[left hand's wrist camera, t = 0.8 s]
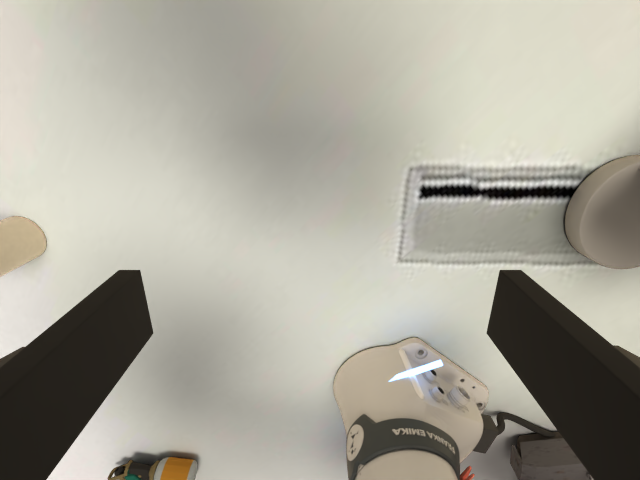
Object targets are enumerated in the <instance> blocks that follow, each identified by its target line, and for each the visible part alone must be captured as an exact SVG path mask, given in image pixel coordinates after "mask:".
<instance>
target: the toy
mask: <svg viewBox="0 0 640 480" xmlns="http://www.w3.org/2000/svg"><path fill="white" fill-rule="evenodd" d="M552 433H554V434H555V437H546V436H543V435H541V434H529V435H520V436H519V437H518V441H517V449H516V447H515V445H512V448H511V459H510V464H511V466H512V468H513V470H514V472H515V474H516V475H517V477H518V479H519V480H594V479H593V478H592V476H591V475H590V474H589V472H588V471H587V470H586V468H585V467H584V466H583V464H582V463H581V461H580V460H579V459H578V457H577V456H576V455H575V453H574V452H573V451H572V449H571V448H570V446H569V445H568V444H567V442H566V441H565V440H564V438H563V437H562V435H561V434H560V433H559V432H552Z"/></svg>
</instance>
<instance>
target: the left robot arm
mask: <svg viewBox="0 0 640 480" xmlns="http://www.w3.org/2000/svg"><path fill="white" fill-rule="evenodd" d="M152 334H153V329H152V325H151V320H150V315H149V310H148V305H147V301H146V296H145V291H144V286H143V282H142V277H141V272H140V270H119V271H117V272H116V273H115V274H114V275H113V276H111V277H110V278H109V279H108V280H106V281H105V282H104V283H103V284H102V285H100V286H99V287H98V288H97V289H96V290H94V291H93V292H92V293H91V294H89V295H88V296H87V297H86V298H85V299H83V300H82V301H81V302H80V303H78V304H77V305H76V306H75V307H74V308H72V309H71V310H70V311H69V312H67V313H66V314H65V315H64V316H63V317H61V318H60V319H59V320H58V321H57V322H55V323H54V324H53V325H52V326H50V327H49V328H48V329H47V330H46V331H44V332H43V333H42V334H41V335H39V336H38V337H37V338H36V339H35V340H33V341H32V342H31V343H30V344H29V345H27V346H26V347H22V348H20V349H18V350H16V351H14V352H12V353H10V354H9V355H7V356H5V357H3V358H1V359H0V480H46V479H47V478H48V476H49V475H50V474H51V472H52V471H53V470H54V468H55V467H56V466H57V464H58V463H59V461H60V460H61V459H62V457H63V456H64V455H65V453H66V452H67V451H68V449H69V448H70V446H71V445H72V444H73V442H74V441H75V440H76V438H77V437H78V435H79V434H80V433H81V431H82V430H83V429H84V427H85V426H86V425H87V423H88V422H89V420H90V419H91V418H92V416H93V415H94V414H95V412H96V411H97V409H98V408H99V407H100V405H101V404H102V403H103V401H104V400H105V399H106V397H107V396H108V394H109V393H110V392H111V390H112V389H113V388H114V386H115V385H116V384H117V382H118V381H119V379H120V378H121V377H122V375H123V374H124V373H125V371H126V370H127V368H128V367H129V366H130V364H131V363H132V362H133V360H134V359H135V358H136V356H137V355H138V353H139V352H140V351H141V349H142V348H143V347H144V345H145V344H146V342H147V341H148V340H149V338H150V337H151V336H152ZM487 334H488V336H489V337H490V338H491V340H492V341H493V342H494V344H495V345H496V347H497V348H498V349H499V351H500V352H501V353H502V355H503V356H504V358H505V359H506V360H507V362H508V363H509V364H510V366H511V367H512V368H513V370H514V371H515V373H516V374H517V375H518V377H519V378H520V379H521V381H522V382H523V384H524V385H525V386H526V388H527V389H528V390H529V392H530V393H531V394H532V396H533V397H534V399H535V400H536V401H537V403H538V404H539V405H540V407H541V408H542V409H543V411H544V412H545V414H546V415H547V416H548V418H549V419H550V420H551V422H552V423H553V425H554V426H555V427H556V429H557V430H558V431H559V433H560V434H561V435H562V437H563V438H564V440H565V441H566V442H567V444H568V445H569V446H570V448H571V449H572V451H573V452H574V453H575V455H576V456H577V457H578V459H579V460H580V461H581V463H582V464H583V466H584V467H585V468H586V470H587V471H588V472H589V474H590V475H591V476H592V478H593V479H594V480H640V357H638V356H636V355H634V354H632V353H630V352H629V351H627V350H625V349H623V348H621V347H619V346H613V345H611V344H610V343H609V342H608V341H607V340H605V339H604V338H603V337H602V336H601V335H599V334H598V333H597V332H596V331H594V330H593V329H592V328H591V327H590V326H588V325H587V324H586V323H585V322H583V321H582V320H581V319H580V318H579V317H577V316H576V315H575V314H574V313H573V312H571V311H570V310H569V309H568V308H566V307H565V306H564V305H563V304H562V303H560V302H559V301H558V300H557V299H555V298H554V297H553V296H552V295H551V294H549V293H548V292H547V291H546V290H544V289H543V288H542V287H541V286H540V285H538V284H537V283H536V282H535V281H534V280H532V279H531V278H530V277H529V276H527V275H526V274H525V273H524V272H523V271H521V270H500V272H499V277H498V282H497V286H496V291H495V296H494V301H493V305H492V310H491V315H490V320H489V325H488V329H487Z"/></svg>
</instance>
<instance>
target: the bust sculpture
mask: <svg viewBox="0 0 640 480" xmlns="http://www.w3.org/2000/svg"><path fill="white" fill-rule="evenodd" d="M565 230H566V234H567V237H568V240H569V242H570V243H571V245H572V246H573V247H574V248H575V249H576V250H577V251H578V252H579V253H581V254H582V255H584V256H586V257H588V258H589V259H591V260H593V261H595V262H596V263H598V264H600V265H602V266H605V267H609V268H614V269H628V268H635V267H639V266H640V155H633V156H626V157H622V158H619V159H616V160H613V161H611V162H609V163H607V164H605V165H603V166H602V167H600V168H599V169H597V170H596V171H594V172H593V173H592V174H591V175H589V176H588V177H587V178H586V179H585V180H584V181H583V182H582V184H581V185H580V186H579V187H578V189H577V190H576V191H575V193H574V195H573V196H572V198H571V200H570V203H569V205H568V208H567V211H566V216H565Z"/></svg>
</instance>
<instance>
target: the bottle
mask: <svg viewBox="0 0 640 480" xmlns="http://www.w3.org/2000/svg"><path fill="white" fill-rule="evenodd" d="M45 249H46V238H45V235H44V233H43V231H42V230H41V229H40V227H39V226H38V225H37V224H35V223H34V222H33V221H31V220H29V219H27V218H24V217H19V216H13V217H9V218H6V219H3V220H0V277H1V276H3V275H5V274H7V273H9V272H11V271H13V270H14V269H16V268H18V267H20V266H22V265H24V264H26V263H27V262H29V261H31V260H33V259H35V258H37V257H39V256H40V255H42V254H43V252H44V251H45Z"/></svg>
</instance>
